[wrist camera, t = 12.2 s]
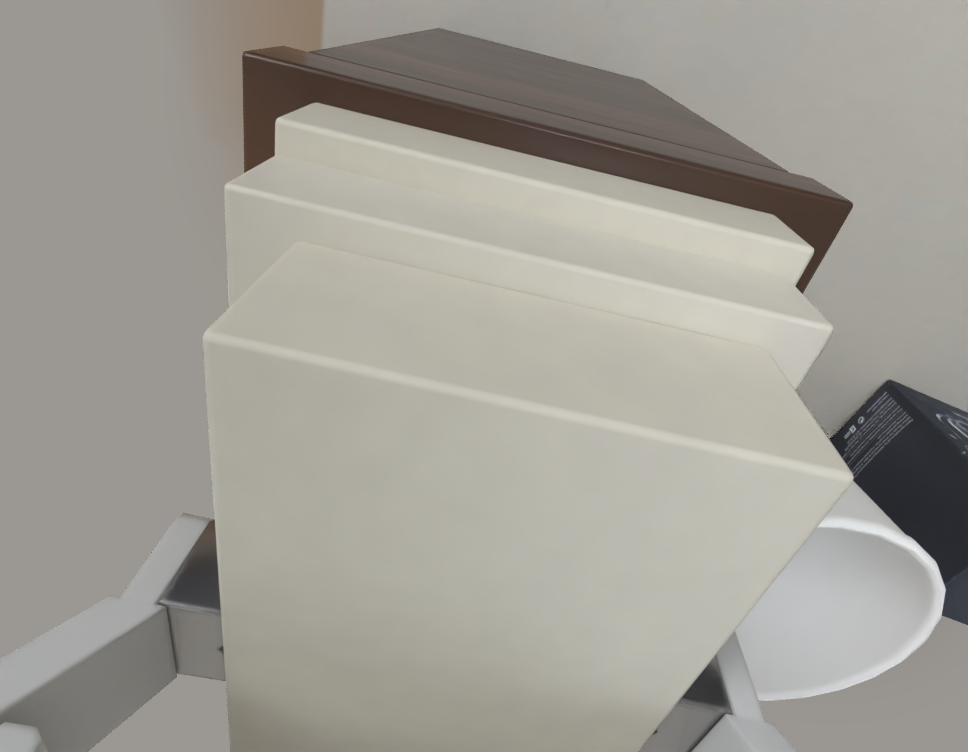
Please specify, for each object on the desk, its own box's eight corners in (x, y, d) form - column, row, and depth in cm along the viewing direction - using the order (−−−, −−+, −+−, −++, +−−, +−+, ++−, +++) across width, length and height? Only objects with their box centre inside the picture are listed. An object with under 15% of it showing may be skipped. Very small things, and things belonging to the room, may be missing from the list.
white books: (312, 100, 10) (214, 139, 7) (777, 214, 10) (878, 298, 7) (291, 570, 17) (239, 693, 14) (567, 625, 17) (575, 755, 14)
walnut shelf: (426, 24, 26) (240, 49, 9) (654, 83, 27) (857, 204, 10) (390, 294, 34) (250, 573, 17) (568, 335, 34) (601, 642, 18)
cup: (601, 474, 40) (637, 705, 27) (587, 327, 34) (624, 533, 21) (779, 459, 38) (912, 699, 25) (798, 301, 32) (989, 508, 19)
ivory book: (296, 237, 7) (197, 332, 5) (768, 346, 8) (861, 478, 6) (281, 679, 13) (232, 809, 11) (548, 729, 14) (551, 864, 12)
